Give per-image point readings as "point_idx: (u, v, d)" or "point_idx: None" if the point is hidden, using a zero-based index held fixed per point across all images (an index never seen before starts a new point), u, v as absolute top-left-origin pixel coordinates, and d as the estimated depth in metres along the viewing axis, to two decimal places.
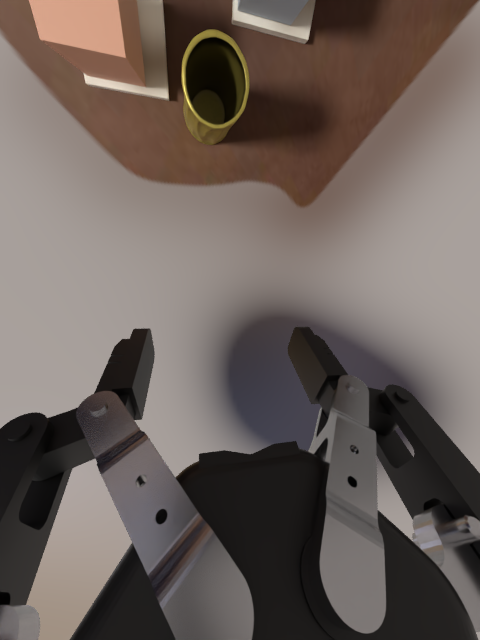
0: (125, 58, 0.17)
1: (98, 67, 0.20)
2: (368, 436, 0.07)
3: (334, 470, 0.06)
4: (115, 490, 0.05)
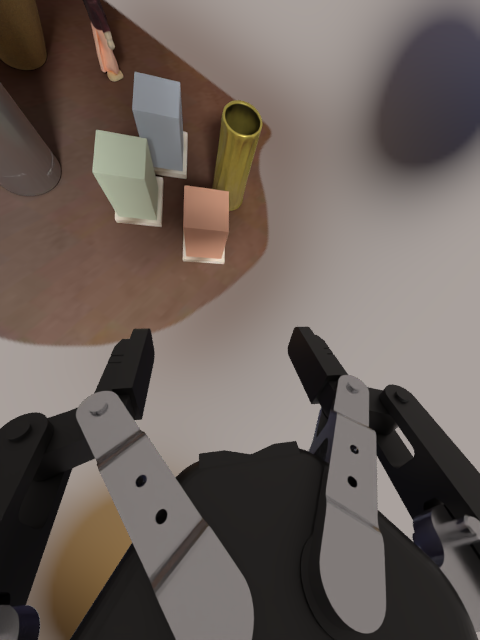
0: (228, 193, 0.30)
1: None
2: (368, 436, 0.07)
3: (334, 470, 0.06)
4: (115, 490, 0.05)
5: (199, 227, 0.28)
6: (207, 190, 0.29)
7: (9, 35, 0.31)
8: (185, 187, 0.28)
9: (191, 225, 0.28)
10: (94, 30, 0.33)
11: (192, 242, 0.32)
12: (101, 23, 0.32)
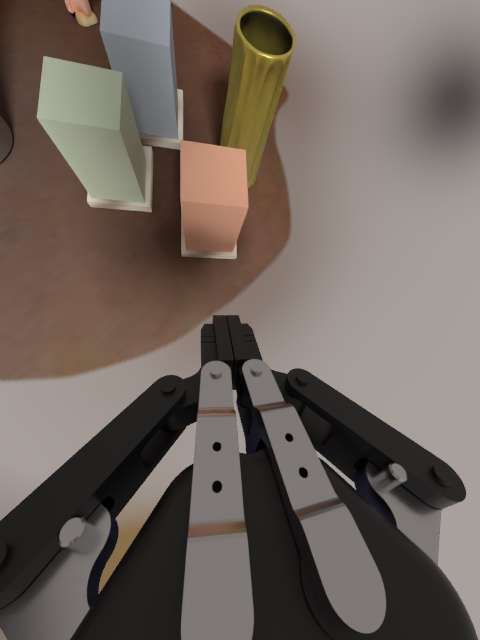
0: (245, 152, 0.20)
1: None
2: (291, 414, 0.07)
3: (286, 476, 0.05)
4: (199, 438, 0.06)
5: (204, 201, 0.19)
6: (214, 147, 0.19)
7: None
8: (182, 143, 0.19)
9: (192, 197, 0.18)
10: None
11: (194, 228, 0.22)
12: None
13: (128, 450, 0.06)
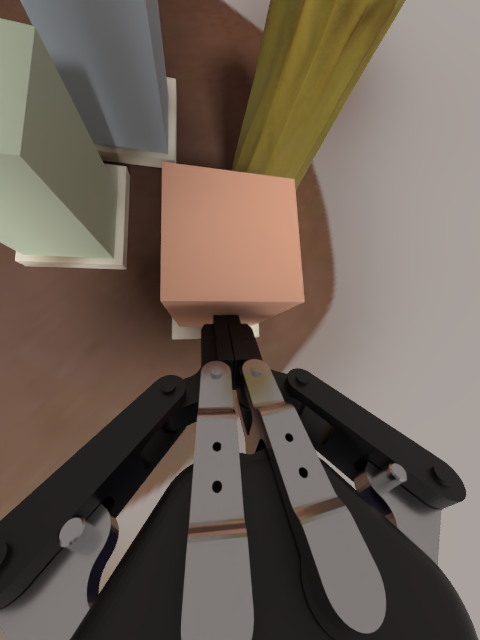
0: (292, 184, 0.10)
1: None
2: (291, 414, 0.07)
3: (286, 476, 0.05)
4: (199, 438, 0.06)
5: (214, 296, 0.09)
6: (234, 177, 0.09)
7: None
8: (165, 168, 0.09)
9: (187, 291, 0.08)
10: None
11: (192, 317, 0.12)
12: None
13: (128, 450, 0.06)
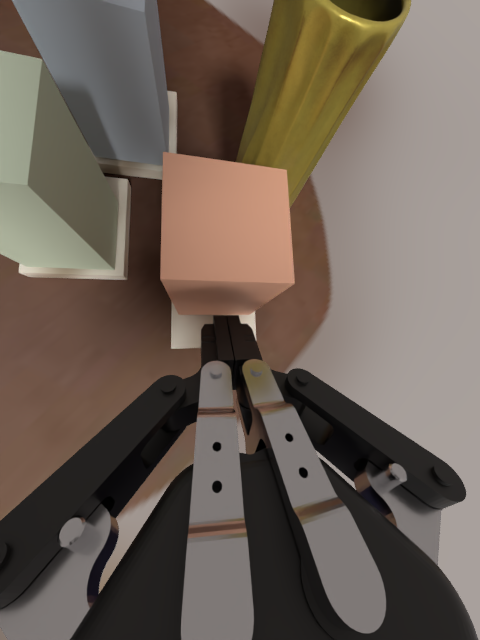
0: (284, 174, 0.11)
1: None
2: (291, 414, 0.07)
3: (286, 476, 0.05)
4: (199, 438, 0.06)
5: (210, 275, 0.09)
6: (229, 166, 0.10)
7: None
8: (166, 158, 0.10)
9: (185, 271, 0.09)
10: None
11: (191, 301, 0.13)
12: None
13: (127, 450, 0.06)
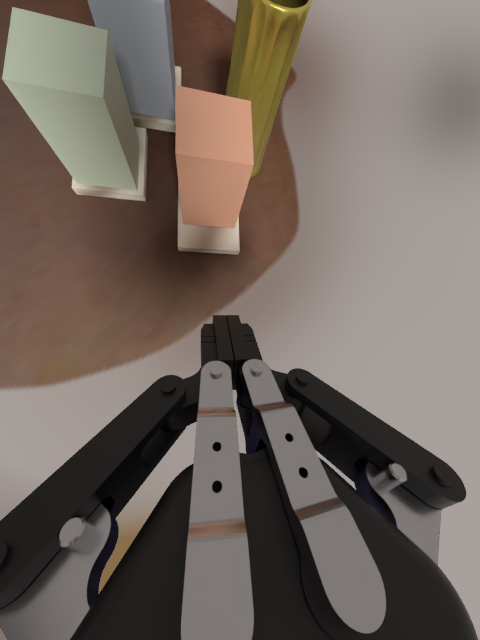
0: (250, 104, 0.18)
1: None
2: (291, 414, 0.07)
3: (286, 476, 0.05)
4: (199, 438, 0.06)
5: (203, 155, 0.16)
6: (215, 96, 0.17)
7: None
8: (178, 89, 0.16)
9: (189, 150, 0.16)
10: None
11: (192, 194, 0.20)
12: None
13: (127, 450, 0.06)
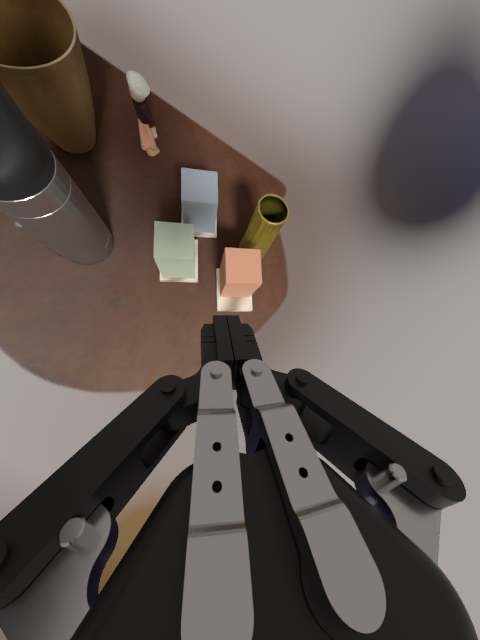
0: (259, 250, 0.36)
1: None
2: (291, 414, 0.07)
3: (286, 476, 0.05)
4: (199, 438, 0.06)
5: (238, 281, 0.34)
6: (243, 250, 0.35)
7: (73, 135, 0.37)
8: (226, 249, 0.35)
9: (232, 280, 0.34)
10: (140, 124, 0.39)
11: (229, 289, 0.38)
12: (148, 122, 0.38)
13: (128, 450, 0.06)
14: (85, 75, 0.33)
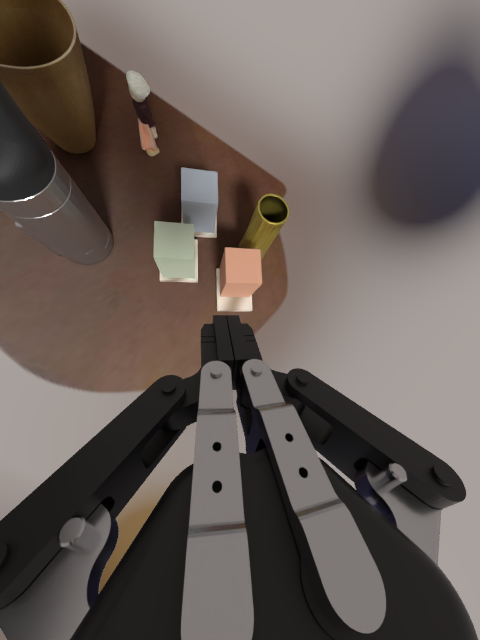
0: (259, 250, 0.36)
1: None
2: (291, 414, 0.07)
3: (286, 475, 0.05)
4: (199, 438, 0.06)
5: (238, 281, 0.34)
6: (243, 250, 0.35)
7: (73, 135, 0.37)
8: (226, 249, 0.35)
9: (232, 280, 0.34)
10: (140, 124, 0.39)
11: (229, 289, 0.38)
12: (148, 121, 0.38)
13: (127, 450, 0.06)
14: (85, 75, 0.33)
